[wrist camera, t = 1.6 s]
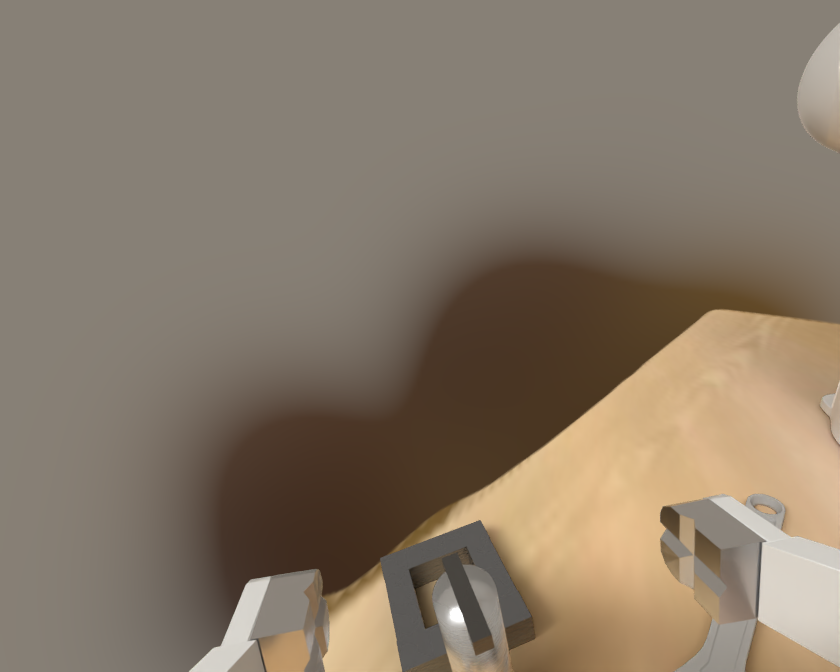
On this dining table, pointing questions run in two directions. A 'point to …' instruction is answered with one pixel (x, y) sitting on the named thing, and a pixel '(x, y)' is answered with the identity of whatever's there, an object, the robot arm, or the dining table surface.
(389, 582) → the socket block
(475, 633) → the keyed metal peg
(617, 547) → the dining table surface
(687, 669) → the adjustable wrench
